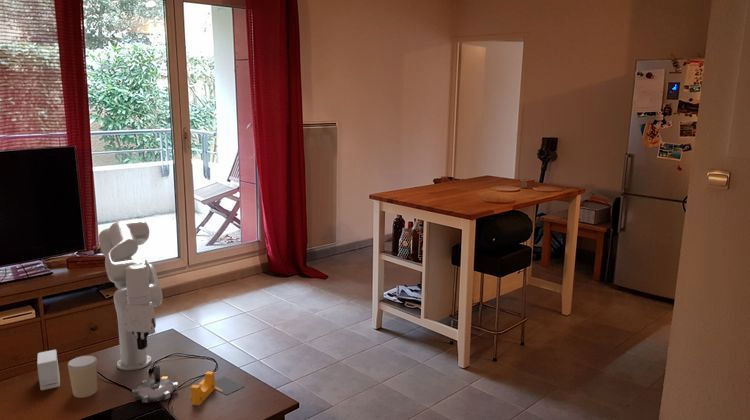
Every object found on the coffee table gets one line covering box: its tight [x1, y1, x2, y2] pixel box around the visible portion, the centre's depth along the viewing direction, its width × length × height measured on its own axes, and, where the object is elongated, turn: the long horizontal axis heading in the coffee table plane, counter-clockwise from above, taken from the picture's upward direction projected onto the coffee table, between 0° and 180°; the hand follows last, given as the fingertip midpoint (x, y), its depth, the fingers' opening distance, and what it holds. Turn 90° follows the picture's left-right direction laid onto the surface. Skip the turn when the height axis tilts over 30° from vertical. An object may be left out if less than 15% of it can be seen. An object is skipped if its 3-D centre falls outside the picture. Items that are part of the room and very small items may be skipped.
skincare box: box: [36, 349, 61, 391], centre depth 213 cm, size 10×6×10 cm, turn 29°
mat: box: [214, 376, 245, 396], centre depth 213 cm, size 12×8×1 cm, turn 51°
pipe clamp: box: [190, 370, 216, 406], centre depth 205 cm, size 12×4×6 cm, turn 168°
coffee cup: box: [67, 355, 98, 398], centre depth 206 cm, size 9×9×12 cm
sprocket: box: [131, 365, 179, 403], centre depth 205 cm, size 15×14×7 cm
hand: (142, 348), depth 209 cm, fingers closed
